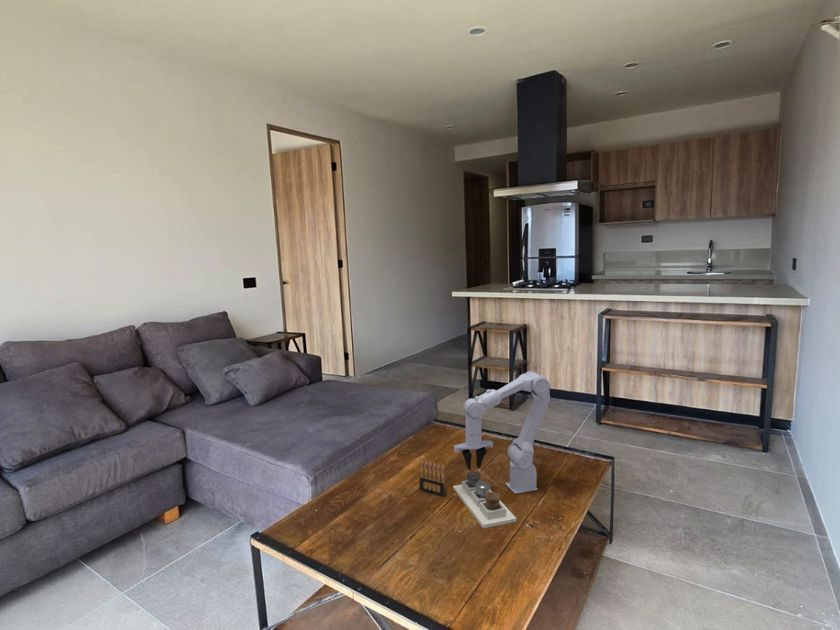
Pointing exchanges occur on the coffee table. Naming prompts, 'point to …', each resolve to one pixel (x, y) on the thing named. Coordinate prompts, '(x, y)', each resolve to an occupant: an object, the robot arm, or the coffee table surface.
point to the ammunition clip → (432, 479)
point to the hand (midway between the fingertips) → (473, 467)
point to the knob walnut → (492, 500)
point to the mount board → (483, 507)
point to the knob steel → (482, 488)
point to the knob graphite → (473, 478)
